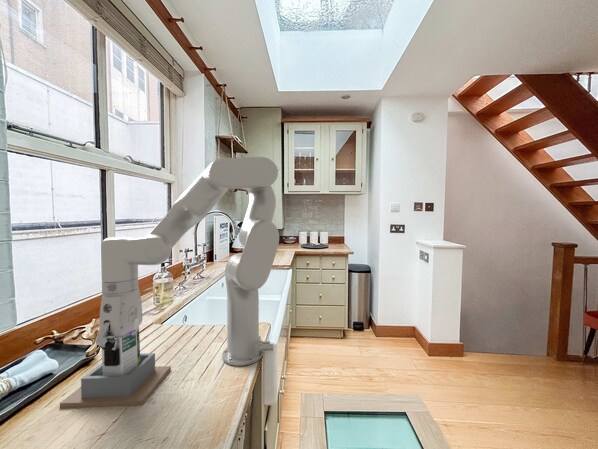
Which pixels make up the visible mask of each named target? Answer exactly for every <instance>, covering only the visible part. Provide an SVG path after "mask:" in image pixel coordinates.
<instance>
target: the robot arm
mask: <svg viewBox="0 0 598 449" xmlns="http://www.w3.org/2000/svg"><path fill="white" fill-rule="evenodd" d="M278 169H279V168H278V166H277V165H276V163H275V162H274V161H273V160H272V159H270V158H268V157H264V156H250V157H248V156H247V157H246V156H245V157H244V156H243V157H221V158H217V159H215V160H213V161H211V163H209V165H208V166H206V168H205V169H203V171H202V172H201V174H200V175H198V176H197V178H196V179H195V180H194V181H193V182H192V184H190V185H189V187H188V188H187V189H186V190H184V192H183V193H182V194H181V195H180V196H179V197H178V198H177V200H176V201H175V202H173V205H172V206H171V208H170V209H169V211H167V213H166V214H165V215H164V217H163V218H161V220H160V221H159V222H158V223H157V224H156V225H155V226H154V227H153V229H152V230H151V231H150V232H149V233H148V234H147V235H146V236H145V237H137V238H135V237H133V236H115V237H106V238H104V239H103V240H102V241H101V243H100V244H101V245H100V257H101V258H100V261H101V262H100V265H101V295H102V296H101V301H100V308H99V321H98V322H99V325H98V326H99V333H98V335H97V338H96V339H95V344H96V345H98V346H99V347H100V348H101V351H102V350H103V351H104V365H105V366H118V365H119V364H120V357H119V348H117V346H118V342H119V339H118V337H123V336H124V335H126V334H127V333H129V332H130V331H131V330H133V329H134V323H135V320H134V319H136V318H137V317H138V318H139V326H140V325H141V324H142V323H143V305H142V297H141V291H140V288H139V265H140V266H158V265H160V264H163V263H165V262H166V261H167V260H168V259H169V258H170V256H171V252H172V249H173V248H174V246H176V244H178V242H179V241H180V240H181V239H182V237H183V236H185V234H186V233H187V232H188V231H189V230H190V229H191V228H193V227H195V226H196V225H198V224H199V223H200V222H201V221H202V220H204V218H206V216H207V215H208V214H209V213H210V212H211V211H212V209H213V208H214V207H215V206H216V204H217V203H218V202H219V201H220V200H221V199H222V197H223V196H225V194H226V193H227V192H228V191H229V190H237V189H238V190H239V189H246V192H247V194H248V199H249V201H248V205H247V209H246V213H245V215H244V219H243V222H242V224H241V226H240V230H239V233H238V239H239V243H240V244H241V245H242V247H243V249H242V252H238V253H235V254H233V255H232V256H230V257H229V258H228V260H227V262H226V265H225V269H224V273H225V275H224V276H225V283H226V308H227V309H226V313H227V314H226V315H227V316H226V323H227V324H226V326H227V327H226V328H227V330H226V331H227V335H226V338H227V343H226V345H227V347H226V348H225V349H223V352H222V354H221V355H222V356H221V357H222V362H224V363H226V364H227V365H231V366H235V367H236V366H237V367H238V366H239V367H240V366H241V367H243V366H249V365H251V364H254V363H257V362H258V361H260V360H261V359H262V358H263V357H264V354H265V351H266V352H267V351H269V352H272V351H274V343H271V341H269V340H266V341H263V340H262V339H261V338H262V337H261V336H260V334H259V333H260V328H259V327H260V326H259V324H260V322H259V318H260V315H259V313H260V312H259V311H260V309H259V308H260V307H259V306H260V305H259V304H260V302H259V301H260V300H259V299H260V297H259V295H260V294H259V290H260V288H262V287H263V286H265V284H266V283H267V282H268V281H267V280H268V279H269V277H270V273H271V270H272V267H273V264H274V260H275V259H276V255H277V251H278V249H279V244H280V243H279V242H280V234H279V230H278V227H277V226H276V224H275V223H273V218H274V215H275V211H276V207H277V206H276V204H277V202H276V201H277V199H276V196H275V192H274V190H273V187H272V185H274V184H275V182H276V181H277V178H278V176H279V170H278ZM110 333H113V335H112V336H110ZM110 338H114V341H113V343H111V342H110Z"/></svg>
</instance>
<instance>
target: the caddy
mask: <svg viewBox="0 0 598 449" xmlns="http://www.w3.org/2000/svg"><path fill="white" fill-rule="evenodd" d="M171 368H172V367H171V365H168V366H167V365H165V366H164V365H163V366H156V353H155V352H152V353H140V364H139V365H138V366H137V367H136V368H135V369H134V370H133V371H132V372H131V373H130V374H129V375H109V376H103V369H102V362H101V363H100V364H99V365H97V366H96V367H95V368H93V369H92V370H91V371H90V372H88V373H86V374H85V375H84V376H83V377H82V378H81V379H80V387H78V388H77V389H76V390H75V391H73V392H72V393H71V394H70V395H68V396H67V397H66V398H64V399H63V400H62V401H60V402H59V408H60V409H61V408H62V409H65V408H66V409H67V408H94V407H95V408H96V407H98V408H99V407H129V406H131V407H132V406H133V407H134V406H143V404H144V403H145V402H146V401H147V400H148V399H149V397H150V396H151V395H152V393H154V391H155V390H156V389H157V388H158V386H159V385H160V384H161V382H163V380H164V378H165V377H166V376H167V375H168V374H169V373H170V371H171Z"/></svg>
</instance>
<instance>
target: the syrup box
mask: <svg viewBox="0 0 598 449" xmlns="http://www.w3.org/2000/svg"><path fill="white" fill-rule="evenodd" d="M134 320H135V323H134V329H133V330H131V331H130V332H129V333H127V334H126V335H124V336H123V337H118V339H119V342H118V346H117V348H119V357H120V364H119V365H118V366H105V365H104V351H103V350H102V349H101V361H102V362H101V363H102V369H103V376H109V375H129V374H130V373H131V372H132V371H133V370H134V369H135V368H136V367H137V366H138V365H139V364H140V354H141V348H140V347H141V345H140V344H141V343H140V342H141V340H140V339H141V338H140V325H139V318H138V317H137V318H136V319H134ZM112 335H113V333H110V336H112ZM113 341H114V338H110V342H111V343H113Z"/></svg>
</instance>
